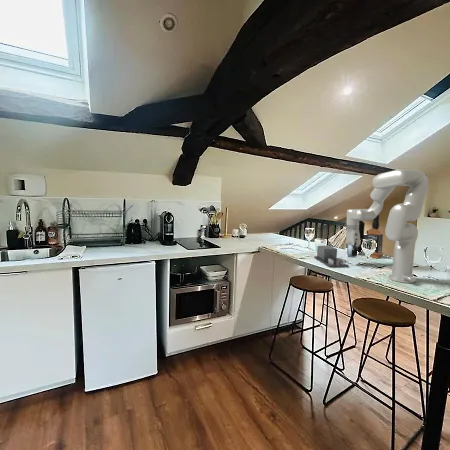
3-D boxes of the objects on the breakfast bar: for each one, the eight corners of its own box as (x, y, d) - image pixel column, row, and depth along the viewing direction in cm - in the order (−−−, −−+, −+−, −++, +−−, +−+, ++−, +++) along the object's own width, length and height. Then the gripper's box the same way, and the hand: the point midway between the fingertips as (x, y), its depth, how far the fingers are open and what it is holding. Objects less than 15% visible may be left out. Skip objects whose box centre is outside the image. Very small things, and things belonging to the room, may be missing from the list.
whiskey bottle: (369, 254, 216) (371, 214, 212) (382, 256, 209) (386, 214, 205) (363, 256, 209) (366, 214, 205) (377, 259, 202) (381, 215, 198)
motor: (348, 267, 178) (348, 253, 177) (329, 267, 177) (330, 253, 176) (328, 257, 206) (329, 244, 205) (312, 257, 206) (313, 244, 205)
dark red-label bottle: (367, 255, 213) (370, 216, 209) (357, 256, 210) (360, 217, 207) (354, 251, 226) (356, 215, 222) (345, 252, 223) (347, 215, 220)
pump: (357, 257, 181) (357, 244, 180) (350, 257, 180) (350, 244, 180) (353, 256, 186) (353, 243, 185) (346, 256, 185) (346, 243, 185)
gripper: (365, 228, 174) (364, 257, 175) (351, 226, 190) (350, 252, 192) (353, 229, 173) (353, 257, 174) (340, 227, 190) (340, 253, 191)
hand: (352, 254), depth 183 cm, fingers closed on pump, 5 cm apart
